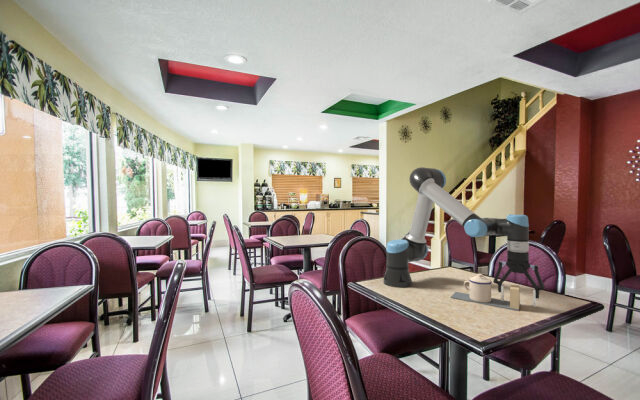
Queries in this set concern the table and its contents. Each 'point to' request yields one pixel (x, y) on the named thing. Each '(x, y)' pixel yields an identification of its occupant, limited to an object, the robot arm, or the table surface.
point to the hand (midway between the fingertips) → (518, 302)
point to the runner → (511, 304)
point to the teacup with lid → (479, 288)
